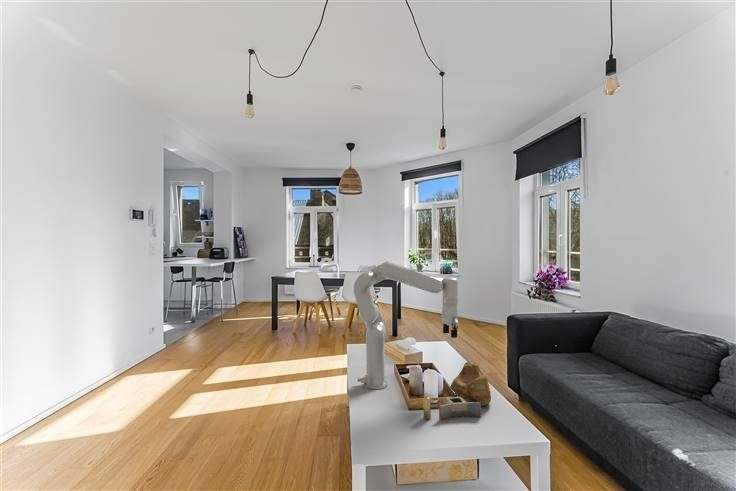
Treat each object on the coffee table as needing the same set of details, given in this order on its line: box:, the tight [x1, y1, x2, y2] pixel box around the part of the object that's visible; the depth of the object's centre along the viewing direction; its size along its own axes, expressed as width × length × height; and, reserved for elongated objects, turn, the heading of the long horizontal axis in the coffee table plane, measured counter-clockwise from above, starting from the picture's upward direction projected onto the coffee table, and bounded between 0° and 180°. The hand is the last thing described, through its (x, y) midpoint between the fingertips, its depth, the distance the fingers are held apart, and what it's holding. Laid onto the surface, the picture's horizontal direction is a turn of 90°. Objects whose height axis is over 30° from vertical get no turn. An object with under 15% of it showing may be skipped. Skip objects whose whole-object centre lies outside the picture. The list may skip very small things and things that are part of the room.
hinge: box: [438, 396, 482, 421], centre depth 166 cm, size 19×8×6 cm, turn 100°
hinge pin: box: [423, 395, 432, 421], centre depth 162 cm, size 3×3×9 cm
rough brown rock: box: [449, 361, 492, 407], centre depth 184 cm, size 23×17×15 cm
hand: (449, 335), depth 196 cm, fingers open, 9 cm apart
